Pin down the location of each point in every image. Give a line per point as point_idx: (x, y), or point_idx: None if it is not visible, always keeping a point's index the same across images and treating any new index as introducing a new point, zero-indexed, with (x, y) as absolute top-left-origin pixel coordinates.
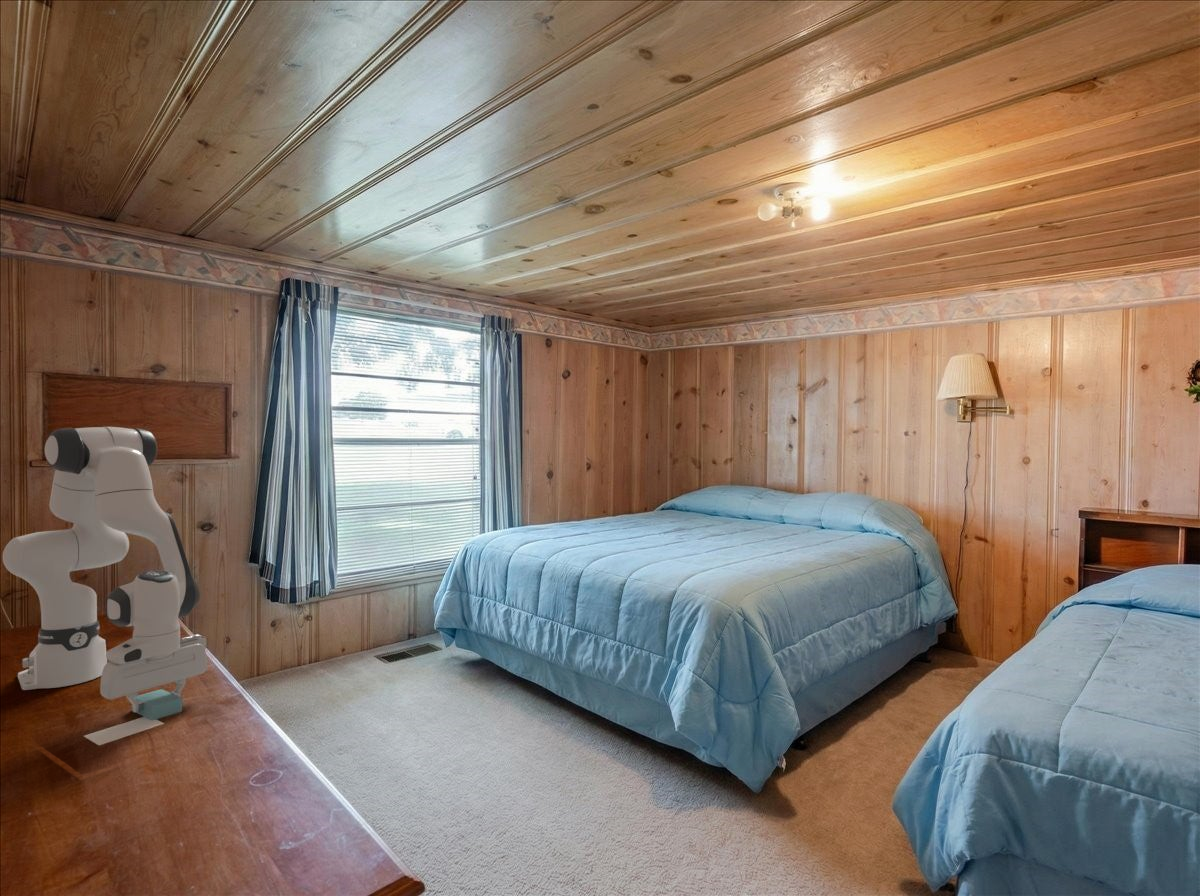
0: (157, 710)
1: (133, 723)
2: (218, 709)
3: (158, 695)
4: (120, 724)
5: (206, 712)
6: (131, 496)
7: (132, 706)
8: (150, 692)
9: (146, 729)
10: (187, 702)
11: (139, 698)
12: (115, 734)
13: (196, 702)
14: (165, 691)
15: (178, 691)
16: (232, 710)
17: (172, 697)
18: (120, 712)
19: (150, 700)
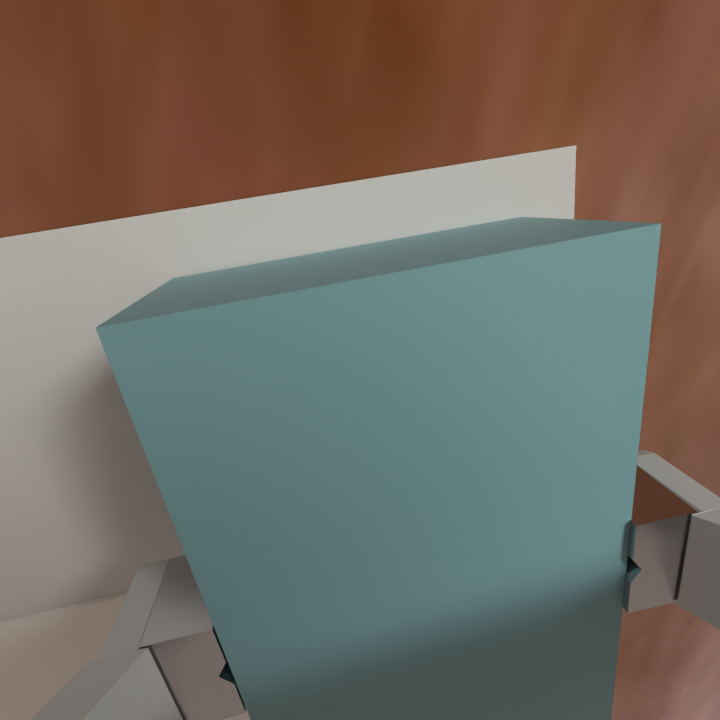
0: None
1: None
2: (685, 648)
3: (483, 546)
4: (50, 622)
5: (620, 654)
6: None
7: (120, 616)
8: (454, 291)
9: None
10: (668, 362)
11: (223, 507)
12: None
13: (702, 420)
14: (625, 421)
15: (696, 606)
16: (710, 702)
17: (558, 701)
18: (55, 83)
19: (340, 675)
